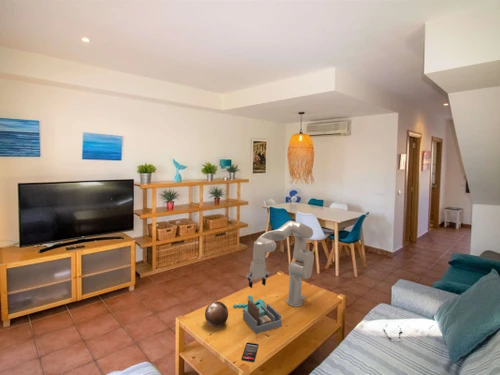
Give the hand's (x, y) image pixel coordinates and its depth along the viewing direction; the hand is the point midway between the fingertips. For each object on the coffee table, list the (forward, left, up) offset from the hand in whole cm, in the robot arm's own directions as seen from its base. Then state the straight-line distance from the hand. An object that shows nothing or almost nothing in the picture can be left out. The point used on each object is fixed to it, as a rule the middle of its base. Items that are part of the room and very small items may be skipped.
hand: (257, 285), depth 185 cm
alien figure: (-8, -20, -27) cm, 35 cm away
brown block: (+2, 0, -26) cm, 27 cm away
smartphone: (+16, +22, -27) cm, 38 cm away
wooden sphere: (+24, -10, -27) cm, 37 cm away
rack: (-4, 0, -26) cm, 27 cm away
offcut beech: (-4, +4, -27) cm, 27 cm away
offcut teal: (-4, -4, -23) cm, 23 cm away
